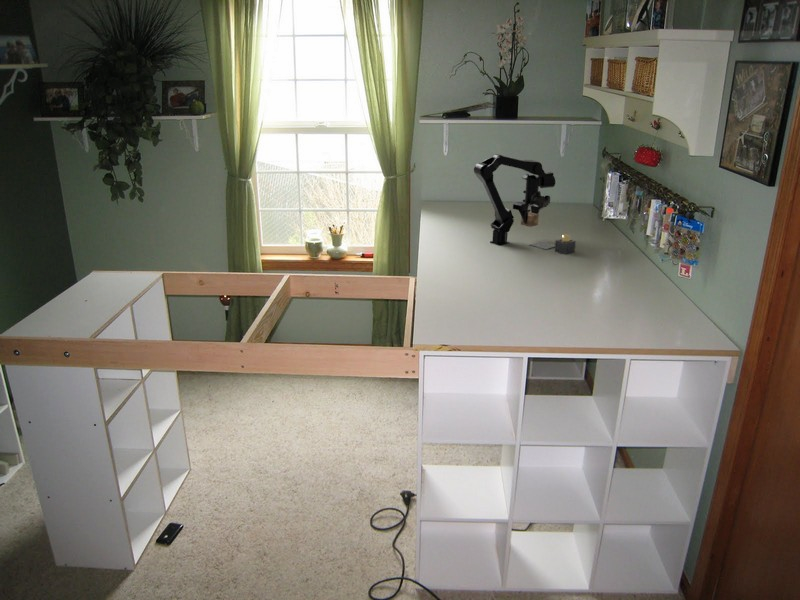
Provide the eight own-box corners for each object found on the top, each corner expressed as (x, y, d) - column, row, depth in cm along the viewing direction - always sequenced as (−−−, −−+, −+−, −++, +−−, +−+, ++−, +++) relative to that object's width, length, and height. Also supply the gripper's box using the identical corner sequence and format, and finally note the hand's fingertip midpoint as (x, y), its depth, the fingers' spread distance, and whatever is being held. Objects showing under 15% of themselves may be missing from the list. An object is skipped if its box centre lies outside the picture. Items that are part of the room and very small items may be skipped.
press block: (565, 254, 280) (567, 243, 279) (554, 251, 285) (555, 240, 283) (574, 251, 284) (575, 240, 282) (563, 248, 288) (564, 238, 286)
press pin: (565, 247, 281) (567, 236, 279) (559, 245, 284) (560, 234, 282) (571, 246, 283) (572, 235, 281) (564, 244, 286) (565, 233, 284)
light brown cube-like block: (530, 226, 296) (530, 216, 294) (520, 224, 300) (521, 213, 298) (537, 224, 299) (538, 214, 297) (528, 222, 303) (529, 212, 301)
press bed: (545, 249, 287) (545, 249, 287) (529, 245, 293) (529, 244, 293) (558, 246, 292) (558, 245, 292) (542, 242, 299) (542, 241, 298)
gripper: (532, 194, 282) (529, 229, 287) (559, 189, 293) (556, 222, 298) (513, 190, 290) (510, 224, 296) (540, 185, 301) (537, 218, 307)
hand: (529, 222), depth 299 cm, fingers closed on light brown cube-like block, 5 cm apart
